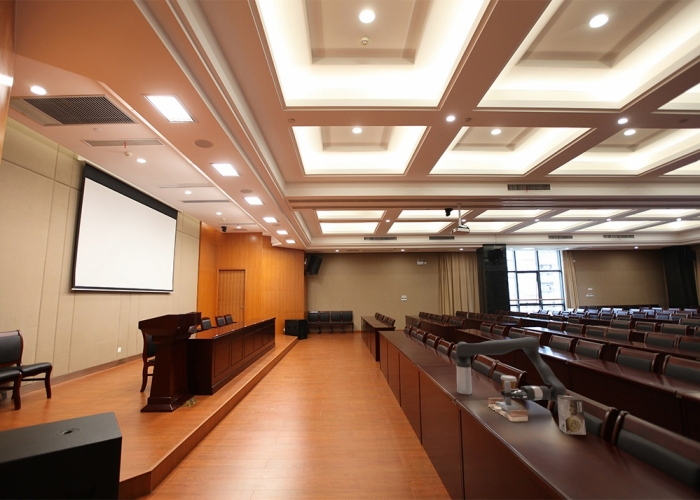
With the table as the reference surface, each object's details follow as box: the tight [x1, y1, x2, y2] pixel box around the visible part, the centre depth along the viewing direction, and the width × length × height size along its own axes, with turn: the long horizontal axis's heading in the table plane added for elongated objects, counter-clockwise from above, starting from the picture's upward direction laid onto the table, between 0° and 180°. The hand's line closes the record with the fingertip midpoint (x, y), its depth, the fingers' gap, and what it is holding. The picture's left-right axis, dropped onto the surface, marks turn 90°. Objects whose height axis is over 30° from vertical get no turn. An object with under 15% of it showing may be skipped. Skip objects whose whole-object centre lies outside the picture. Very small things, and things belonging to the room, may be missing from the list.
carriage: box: [498, 381, 520, 413], centre depth 180 cm, size 8×7×15 cm
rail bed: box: [487, 397, 529, 422], centre depth 181 cm, size 22×9×5 cm, turn 8°
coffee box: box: [557, 394, 587, 436], centre depth 158 cm, size 9×6×16 cm
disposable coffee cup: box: [500, 374, 517, 391], centre depth 214 cm, size 10×10×12 cm
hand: (503, 393), depth 180 cm, fingers closed on carriage, 3 cm apart
